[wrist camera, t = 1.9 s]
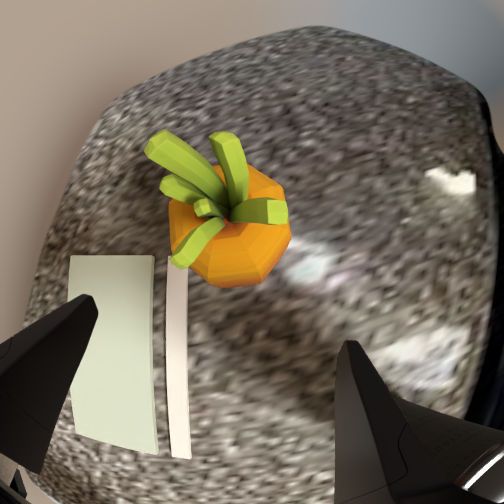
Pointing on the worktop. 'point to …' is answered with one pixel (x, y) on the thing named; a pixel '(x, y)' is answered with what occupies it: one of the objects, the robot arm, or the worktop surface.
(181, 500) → the worktop surface
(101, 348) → the mat
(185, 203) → the carrot
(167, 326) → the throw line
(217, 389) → the worktop surface
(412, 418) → the drinking cup
